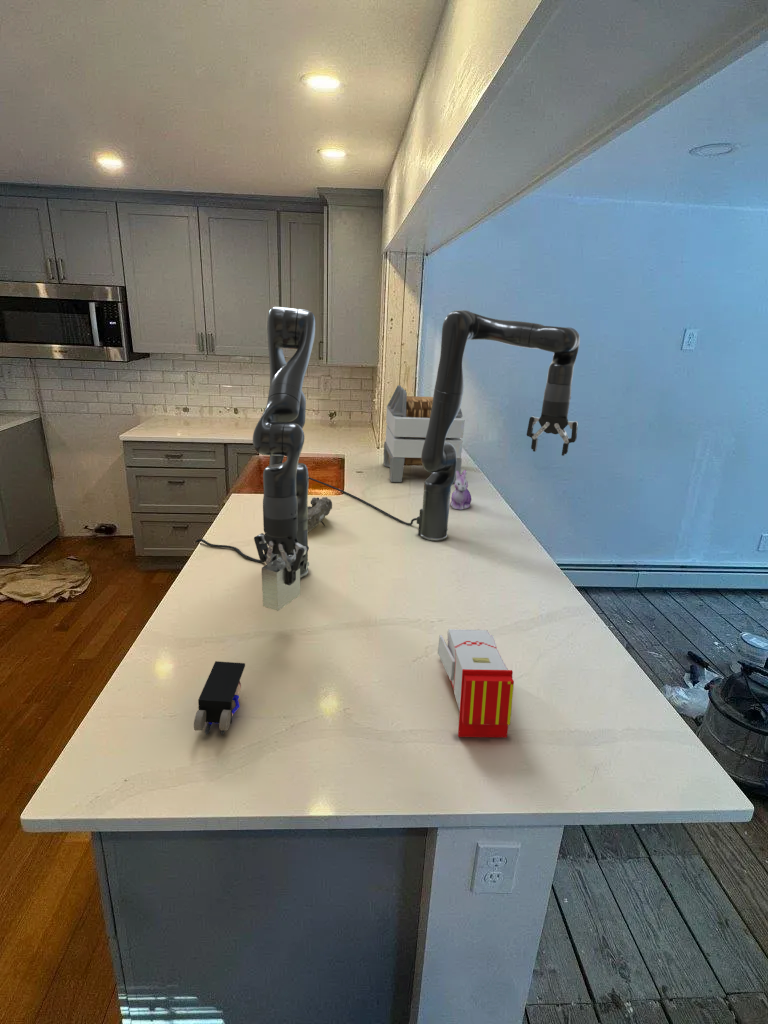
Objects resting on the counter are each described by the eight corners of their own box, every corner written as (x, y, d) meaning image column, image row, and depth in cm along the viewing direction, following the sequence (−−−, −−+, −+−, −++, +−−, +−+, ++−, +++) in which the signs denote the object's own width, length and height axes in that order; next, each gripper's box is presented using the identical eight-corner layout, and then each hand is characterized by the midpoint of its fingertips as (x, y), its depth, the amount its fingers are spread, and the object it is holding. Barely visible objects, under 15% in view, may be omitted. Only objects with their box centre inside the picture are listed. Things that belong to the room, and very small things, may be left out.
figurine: (458, 511, 224) (461, 475, 219) (444, 503, 233) (446, 468, 228) (477, 508, 228) (481, 473, 223) (462, 501, 237) (466, 466, 232)
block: (262, 606, 130) (261, 567, 127) (285, 590, 137) (285, 553, 134) (277, 611, 128) (276, 572, 125) (300, 595, 136) (300, 557, 132)
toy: (488, 613, 130) (523, 677, 101) (484, 667, 133) (517, 744, 104) (435, 612, 130) (455, 676, 101) (432, 666, 133) (451, 743, 103)
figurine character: (231, 748, 102) (248, 688, 116) (228, 717, 99) (246, 659, 113) (194, 747, 102) (215, 687, 116) (189, 716, 99) (212, 658, 112)
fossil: (299, 502, 213) (329, 481, 208) (315, 521, 216) (345, 501, 211) (284, 530, 194) (317, 507, 189) (302, 550, 196) (335, 528, 191)
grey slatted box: (382, 463, 289) (386, 382, 275) (445, 464, 293) (451, 384, 279) (390, 482, 257) (394, 392, 243) (460, 483, 261) (468, 394, 247)
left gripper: (243, 510, 125) (246, 579, 131) (297, 524, 119) (297, 596, 125) (265, 501, 131) (267, 567, 137) (317, 513, 125) (316, 582, 131)
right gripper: (529, 398, 165) (522, 452, 171) (580, 403, 159) (571, 459, 165) (534, 395, 171) (528, 447, 177) (583, 400, 166) (575, 454, 171)
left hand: (281, 580), depth 131 cm, fingers closed on block, 4 cm apart
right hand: (548, 453), depth 171 cm, fingers open, 8 cm apart
